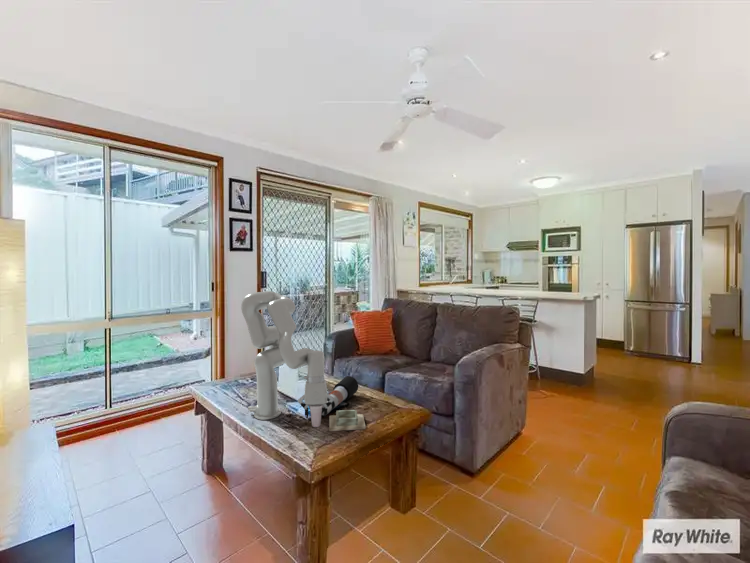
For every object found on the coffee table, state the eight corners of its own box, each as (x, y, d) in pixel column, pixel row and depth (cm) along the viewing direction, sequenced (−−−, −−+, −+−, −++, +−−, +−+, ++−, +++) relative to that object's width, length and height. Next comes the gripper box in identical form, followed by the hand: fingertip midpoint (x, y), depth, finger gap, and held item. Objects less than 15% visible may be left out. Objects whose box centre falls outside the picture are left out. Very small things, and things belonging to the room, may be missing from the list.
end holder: (329, 430, 157) (329, 421, 157) (329, 418, 170) (329, 409, 170) (365, 428, 159) (365, 419, 159) (362, 416, 172) (362, 407, 172)
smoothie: (320, 420, 167) (320, 391, 166) (325, 426, 161) (325, 396, 161) (307, 423, 164) (307, 393, 163) (311, 429, 158) (311, 398, 157)
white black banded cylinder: (313, 427, 170) (304, 408, 170) (347, 395, 201) (339, 379, 201) (329, 422, 165) (319, 402, 166) (361, 390, 196) (353, 373, 197)
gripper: (295, 381, 157) (295, 421, 158) (335, 380, 159) (335, 419, 160) (297, 376, 164) (297, 413, 165) (335, 375, 166) (335, 412, 167)
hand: (316, 416), depth 162 cm, fingers open, 7 cm apart
